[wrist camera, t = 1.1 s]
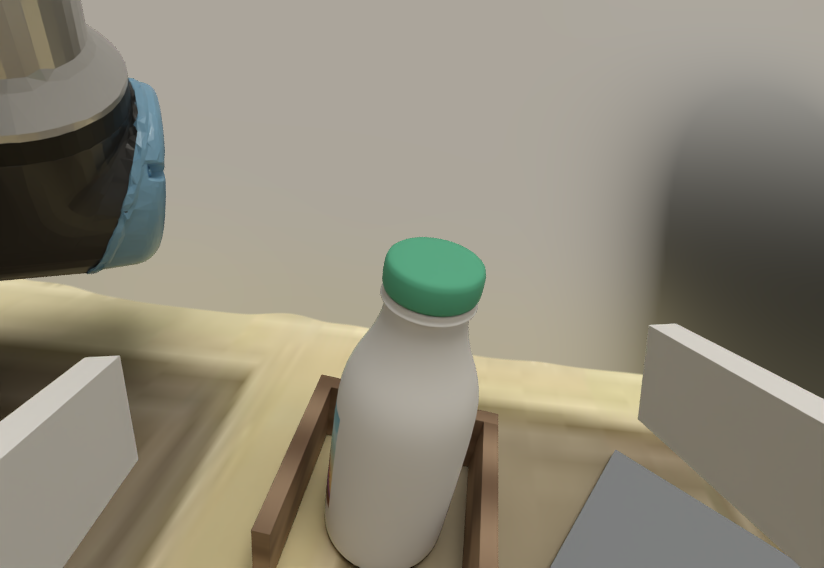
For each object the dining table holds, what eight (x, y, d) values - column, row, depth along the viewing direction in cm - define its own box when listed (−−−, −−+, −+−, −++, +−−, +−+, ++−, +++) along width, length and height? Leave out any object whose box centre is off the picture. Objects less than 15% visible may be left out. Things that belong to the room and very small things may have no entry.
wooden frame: (476, 633, 27) (498, 589, 25) (253, 579, 28) (251, 530, 25) (481, 458, 38) (498, 414, 35) (318, 421, 38) (321, 374, 35)
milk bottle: (463, 529, 33) (557, 278, 22) (371, 607, 28) (433, 334, 17) (391, 449, 37) (439, 208, 26) (301, 504, 32) (315, 237, 22)
